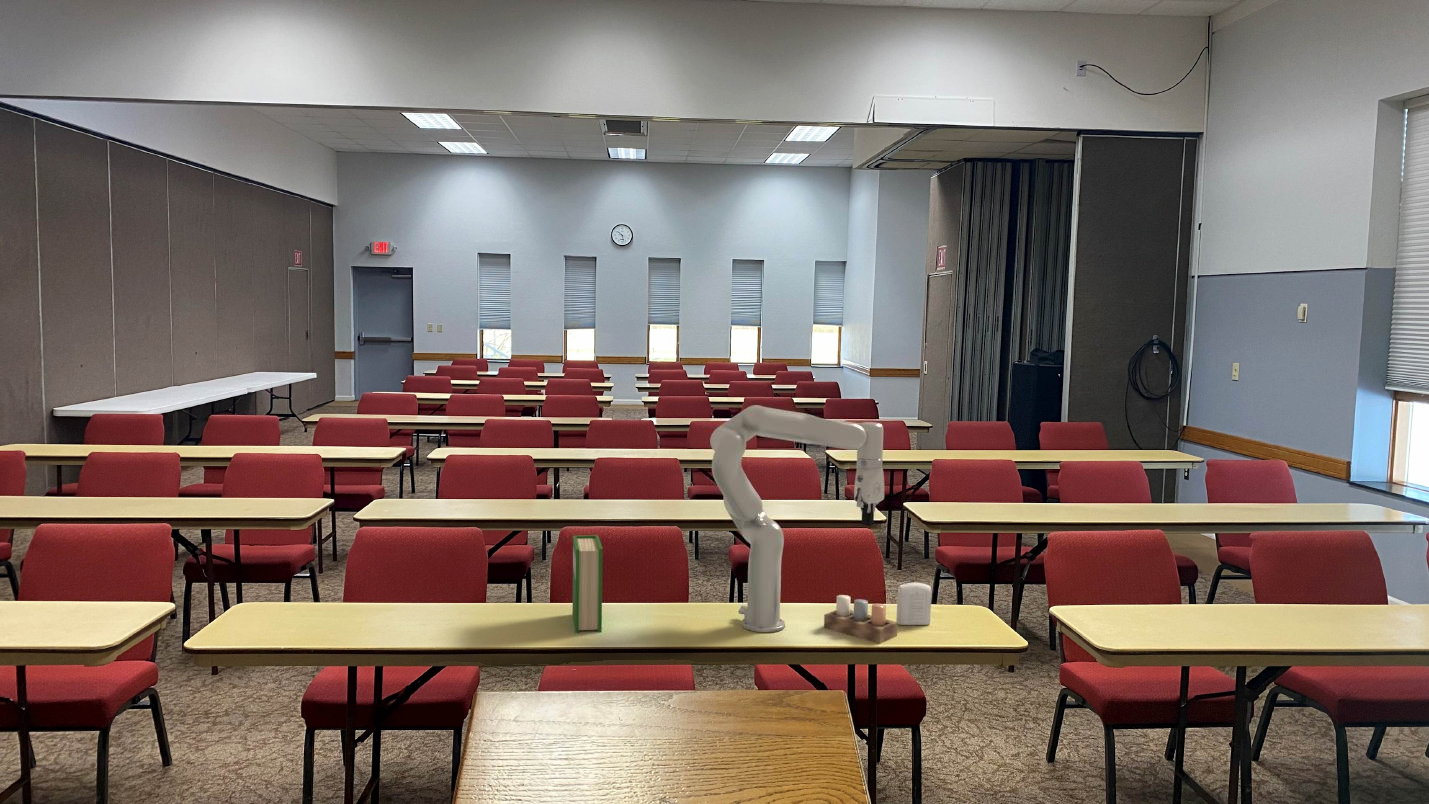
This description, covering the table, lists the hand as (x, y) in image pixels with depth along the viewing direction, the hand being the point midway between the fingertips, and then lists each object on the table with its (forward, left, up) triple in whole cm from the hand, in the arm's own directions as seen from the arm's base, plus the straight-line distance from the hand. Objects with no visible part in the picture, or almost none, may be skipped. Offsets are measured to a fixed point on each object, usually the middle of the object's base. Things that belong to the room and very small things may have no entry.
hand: (867, 524), depth 271 cm
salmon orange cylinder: (+11, -10, -27) cm, 31 cm away
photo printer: (+12, +8, -29) cm, 33 cm away
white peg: (-1, -10, -27) cm, 29 cm away
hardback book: (-56, -61, -29) cm, 88 cm away
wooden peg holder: (+5, -10, -29) cm, 31 cm away
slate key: (+5, -10, -27) cm, 29 cm away
